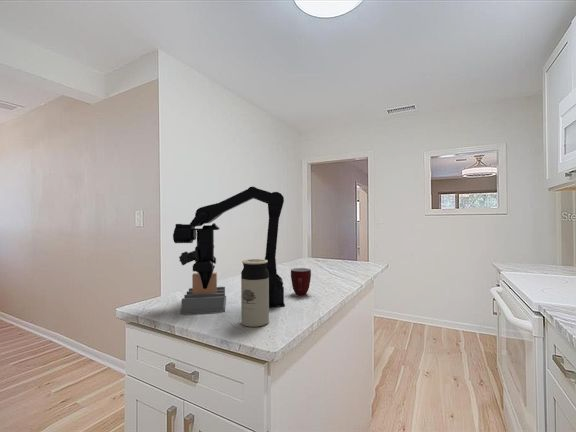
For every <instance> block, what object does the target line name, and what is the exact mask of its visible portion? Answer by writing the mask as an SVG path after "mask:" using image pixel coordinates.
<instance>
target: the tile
mask: <svg viewBox="0 0 576 432" xmlns="http://www.w3.org/2000/svg"><path fill="white" fill-rule="evenodd" d="M191 277H192V283H191V284H192V287H191V288H192V294H211V293H217V287H218V274H217V272H213V273H212V275H211V278H210V281H209V283H208V286H207V289H203V285H202V281H201V277H200V274H199V273H197V272H196V273H195V272H194V273H192V276H191Z"/></svg>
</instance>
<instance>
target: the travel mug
mask: <svg viewBox="0 0 576 432" xmlns="http://www.w3.org/2000/svg"><path fill="white" fill-rule="evenodd" d="M264 259H265V258H264ZM264 259H262V258H261V259H260V258H251V259H250V258H249V259H243V260H242V261H241V263H242V266H243V268H242V270H241V272H240V279H241V280H240V282H241V283H240V284H241V287H240V289H241V291H240V293H241V295H240V298H241V302H240V303H241V305H240V306H241V309H240V310H241V313H240V315H241V317H240V321H241V324H242V325H244V326H245V327H250V328H257V327H262V326H265V325H267V324H269V322H270V307H269V271H268V269H267V267H266V266H267V262H268V261H267V260H264Z"/></svg>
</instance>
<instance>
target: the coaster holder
mask: <svg viewBox="0 0 576 432" xmlns="http://www.w3.org/2000/svg"><path fill="white" fill-rule="evenodd" d="M226 305H227V295H226V287H225V286H217V293H211V294H192V287H189V288H188V290H187V291H186V294H184V297H183V298H181V308H180V309H179V315H193V314H194V315H195V314H207V313H208V314H209V313H210V314H212V313H226Z"/></svg>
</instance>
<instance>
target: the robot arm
mask: <svg viewBox="0 0 576 432" xmlns="http://www.w3.org/2000/svg"><path fill="white" fill-rule="evenodd" d="M251 200H257V201H259V202H263V203H265V204H266V205H267V212H268V222H267V223H268V224H267V225H268V226H267V234H266V245H265V246H266V248H265V256H264V260H267V261H268V262H267V266H266V267H267V269H268V271H269V308H275V307H285V306H286V304H285V295H284V294H285V293H284V292H285V287H284V281H283V277H282V276H280V275H279V274H278V272H277V261H276V260H277V259H276V257H277V256H276V255H277V243H278V235H279V234H278V233H279V223H280V222H279V221H280V218H281V213H282V210H283V206H284V202H285V197H284V196H283V194H282V193H280V192H279V191H273V192H270V191H268V190H263V189H261V188H258V187H256V186H249V187H248V188H247V189H244V190H243V191H240V192H238V193H236V194H233V195H232V196H231V197H228V198H225V199H224V200H222V201H220V202H217V203H212V204H209V205H204V206H201V207H199V208H198V209H197V210H196V211H195V213H194V214H195V216H194V217H193V219H192V220H191V221H190V223H189V224H185V223H184V224H183V223H176V224H175V226H174V230H173V233H172V238H173V239H172V240H173V242H174V244H193V243H194V241H196V246H195V247H194V250H192V251H190V252H188V251H184V252H181V253H180V256H179V257H178V258H179V262H180V263H181V266H186V264H188V263H191V262H193V261H194V263H193V264H192V272H194V273H195V272H196V273H199V274H200V277H201V281H202V285H203V289H207V286H208V283H209V281H210V278H211V275H212V273H214V270H215V267H216V266H215V265H216V264H217V257H215V253H214V251H215V245H214V243H215V240H214V239H215V238H214V237H215V235H214V233H215V231H218V230H220V227H219V226H218V225H216V223H215V222H214V221H215V220H217V219H218V218H219V217H220V216H222V215H223V214H225V213H227V212H228V211H230V210H232V209H235V208H237V207H239V206H240V205H243V204H245V203H247V202H250V201H251ZM210 223H211V224H210ZM205 224H207V225H205ZM208 224H210V225H208ZM201 226H202V228H201ZM198 227H200V228H198Z"/></svg>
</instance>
